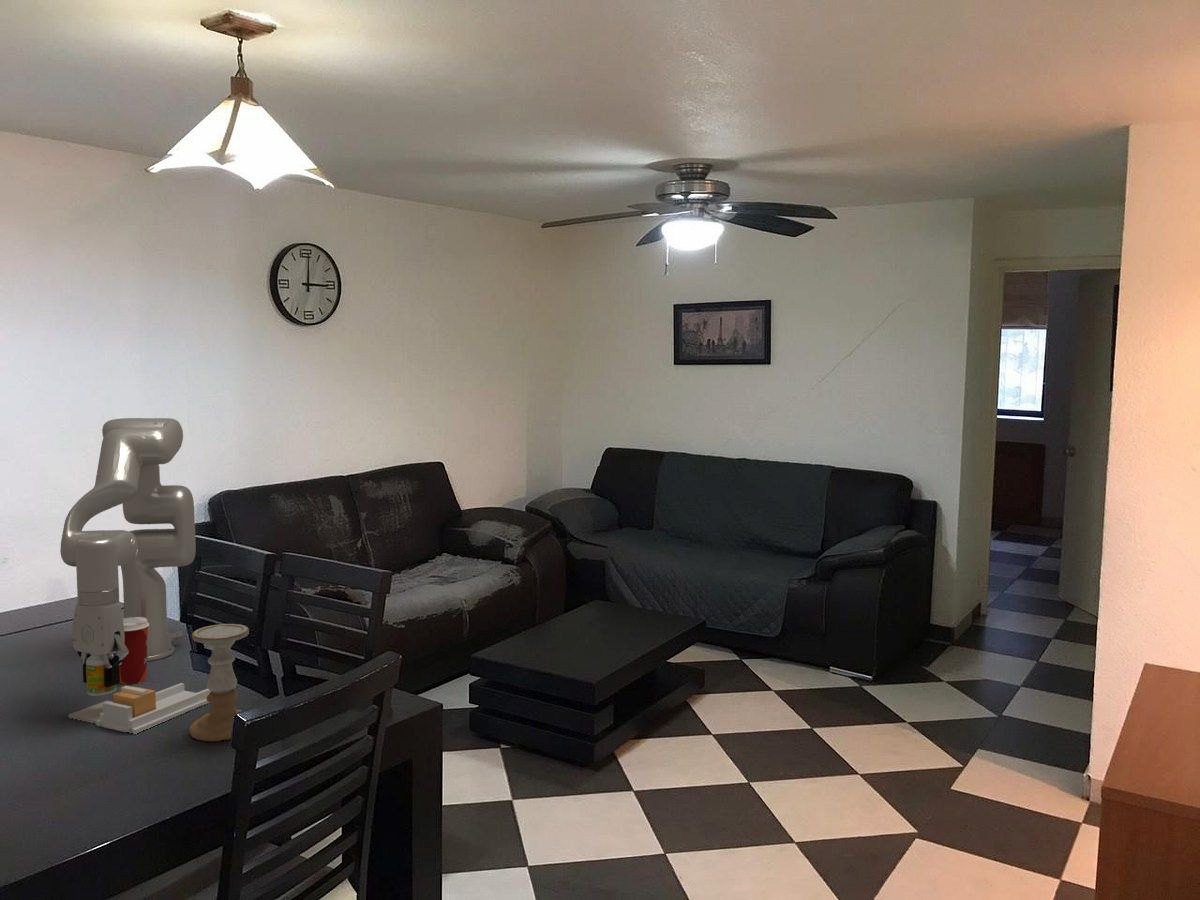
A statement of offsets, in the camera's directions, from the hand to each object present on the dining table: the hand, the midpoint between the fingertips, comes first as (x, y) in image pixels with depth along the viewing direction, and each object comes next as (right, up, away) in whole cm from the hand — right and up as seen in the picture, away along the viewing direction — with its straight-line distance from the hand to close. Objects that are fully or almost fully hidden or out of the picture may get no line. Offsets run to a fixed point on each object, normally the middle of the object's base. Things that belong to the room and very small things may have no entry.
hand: (101, 682), depth 189 cm
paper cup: (-4, -5, +21) cm, 22 cm away
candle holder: (+28, -8, -7) cm, 30 cm away
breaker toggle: (+9, -6, -4) cm, 11 cm away
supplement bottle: (0, -2, 0) cm, 2 cm away
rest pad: (0, -7, +1) cm, 7 cm away
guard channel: (+11, -7, +1) cm, 13 cm away
